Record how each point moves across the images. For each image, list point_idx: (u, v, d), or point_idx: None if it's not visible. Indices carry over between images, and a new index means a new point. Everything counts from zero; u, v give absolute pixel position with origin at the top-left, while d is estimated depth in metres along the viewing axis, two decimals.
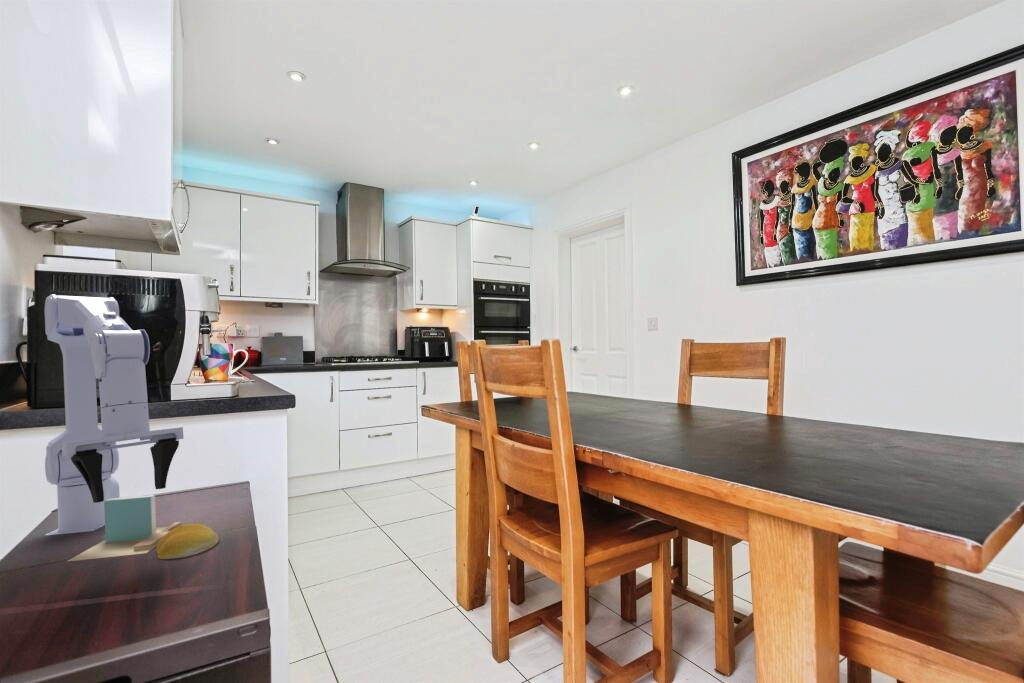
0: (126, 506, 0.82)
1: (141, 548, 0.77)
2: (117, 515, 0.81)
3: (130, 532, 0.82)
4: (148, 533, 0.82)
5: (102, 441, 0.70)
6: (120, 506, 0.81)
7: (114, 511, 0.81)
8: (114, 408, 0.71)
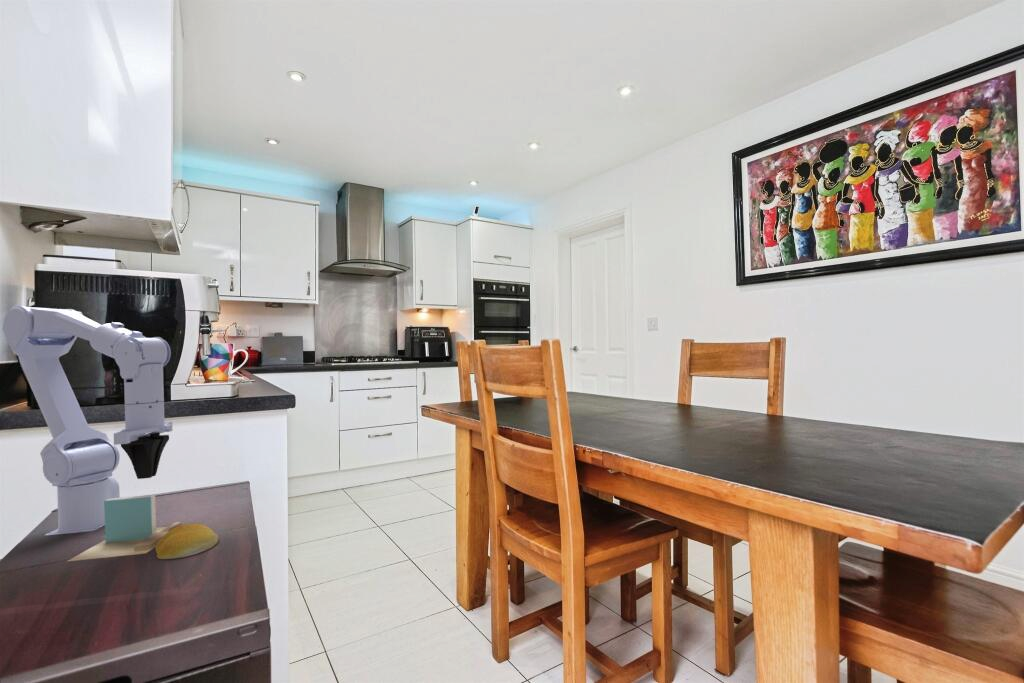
0: (126, 506, 0.82)
1: (141, 548, 0.77)
2: (117, 515, 0.81)
3: (130, 532, 0.82)
4: (148, 533, 0.82)
5: (146, 432, 0.85)
6: (120, 506, 0.81)
7: (114, 511, 0.81)
8: (151, 405, 0.86)
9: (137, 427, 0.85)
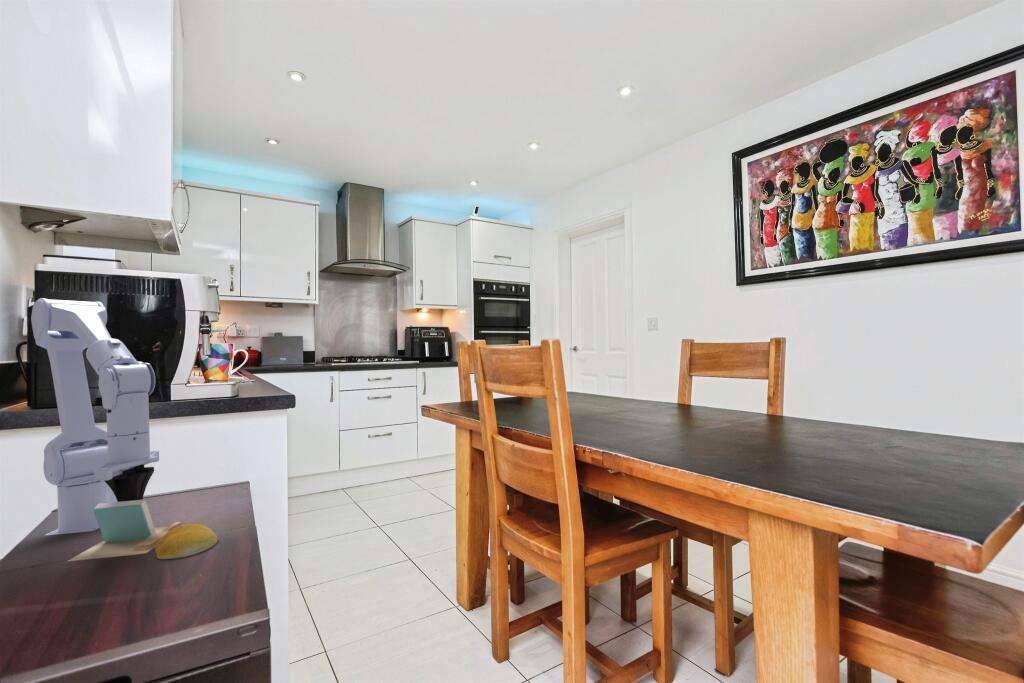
0: (117, 513, 0.79)
1: (141, 548, 0.77)
2: (110, 521, 0.80)
3: (129, 534, 0.81)
4: (147, 534, 0.82)
5: (129, 466, 0.80)
6: (111, 513, 0.79)
7: (106, 518, 0.79)
8: (135, 436, 0.81)
9: (120, 460, 0.80)
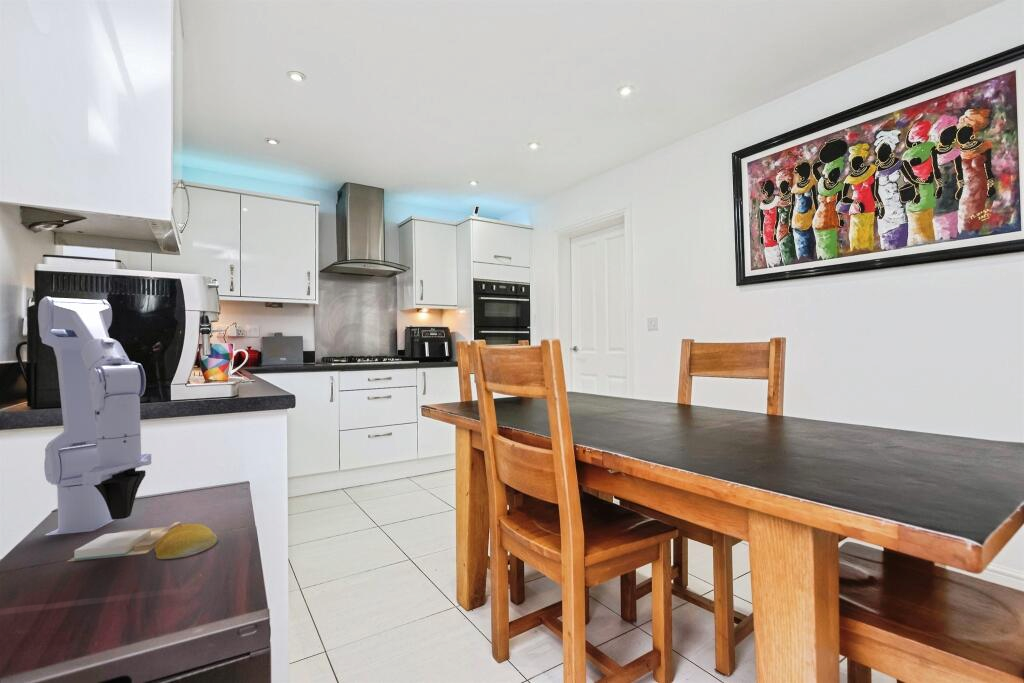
0: None
1: (141, 548, 0.77)
2: None
3: None
4: None
5: (119, 470, 0.77)
6: None
7: None
8: (126, 439, 0.79)
9: (110, 464, 0.77)
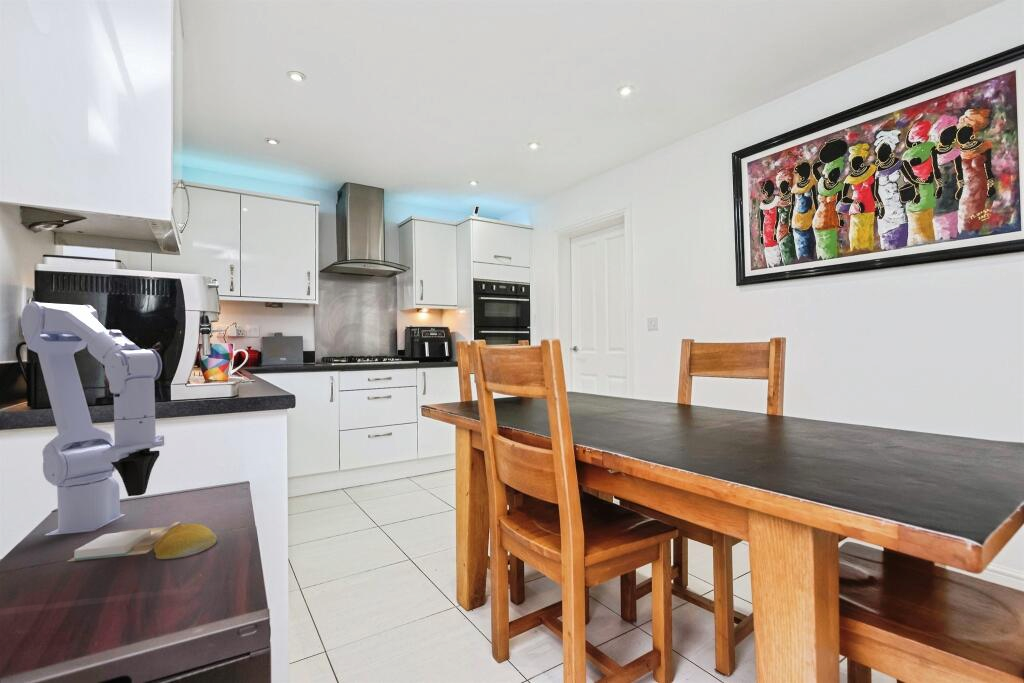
0: None
1: (141, 548, 0.77)
2: None
3: None
4: None
5: (136, 449, 0.82)
6: None
7: None
8: (142, 420, 0.83)
9: (127, 443, 0.82)
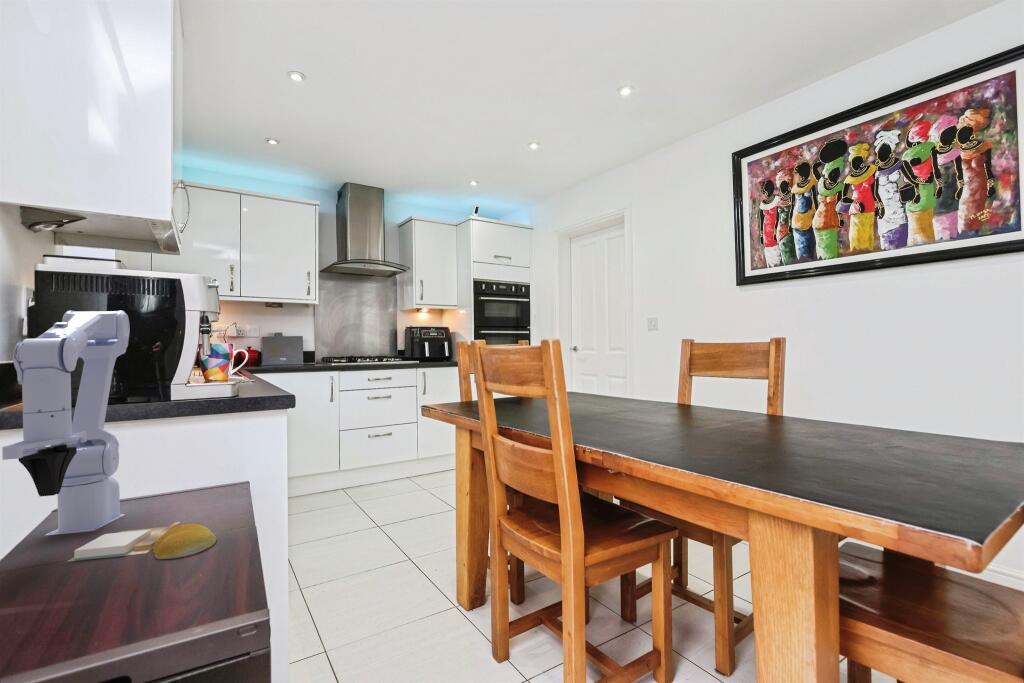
0: None
1: (141, 548, 0.77)
2: None
3: None
4: None
5: (45, 445, 0.75)
6: None
7: None
8: (53, 414, 0.77)
9: (35, 439, 0.75)
